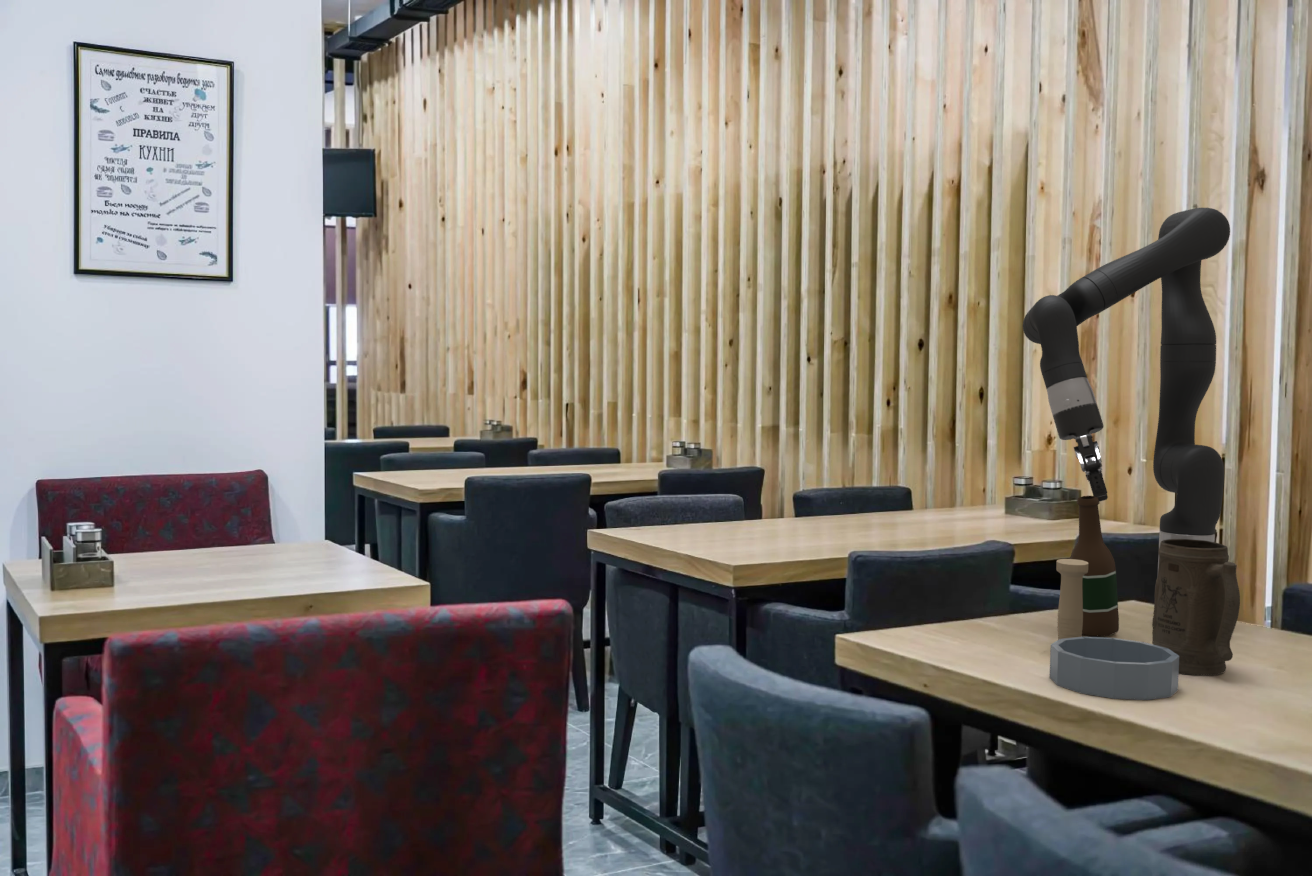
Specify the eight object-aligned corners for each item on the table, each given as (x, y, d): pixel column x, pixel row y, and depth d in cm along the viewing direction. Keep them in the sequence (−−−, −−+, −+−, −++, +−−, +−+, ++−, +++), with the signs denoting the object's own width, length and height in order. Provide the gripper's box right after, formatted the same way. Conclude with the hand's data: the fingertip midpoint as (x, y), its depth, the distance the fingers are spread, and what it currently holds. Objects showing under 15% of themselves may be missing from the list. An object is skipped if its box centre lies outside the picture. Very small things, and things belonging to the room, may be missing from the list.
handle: (1084, 650, 195) (1087, 560, 195) (1085, 659, 189) (1089, 565, 189) (1053, 648, 197) (1056, 558, 196) (1053, 656, 191) (1057, 563, 190)
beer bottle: (1124, 624, 210) (1116, 492, 206) (1114, 639, 204) (1106, 502, 200) (1078, 621, 214) (1070, 492, 211) (1068, 635, 208) (1059, 502, 204)
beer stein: (1131, 660, 189) (1143, 537, 186) (1181, 655, 193) (1193, 534, 191) (1210, 691, 175) (1224, 558, 172) (1263, 685, 179) (1277, 555, 177)
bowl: (1111, 665, 186) (1112, 633, 185) (1202, 692, 170) (1203, 658, 170) (1026, 675, 179) (1028, 642, 178) (1113, 704, 163) (1115, 668, 163)
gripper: (1095, 395, 198) (1124, 488, 195) (1097, 408, 211) (1124, 496, 208) (1050, 408, 200) (1077, 500, 197) (1054, 420, 214) (1080, 507, 210)
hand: (1101, 498), depth 202 cm, fingers open, 8 cm apart
